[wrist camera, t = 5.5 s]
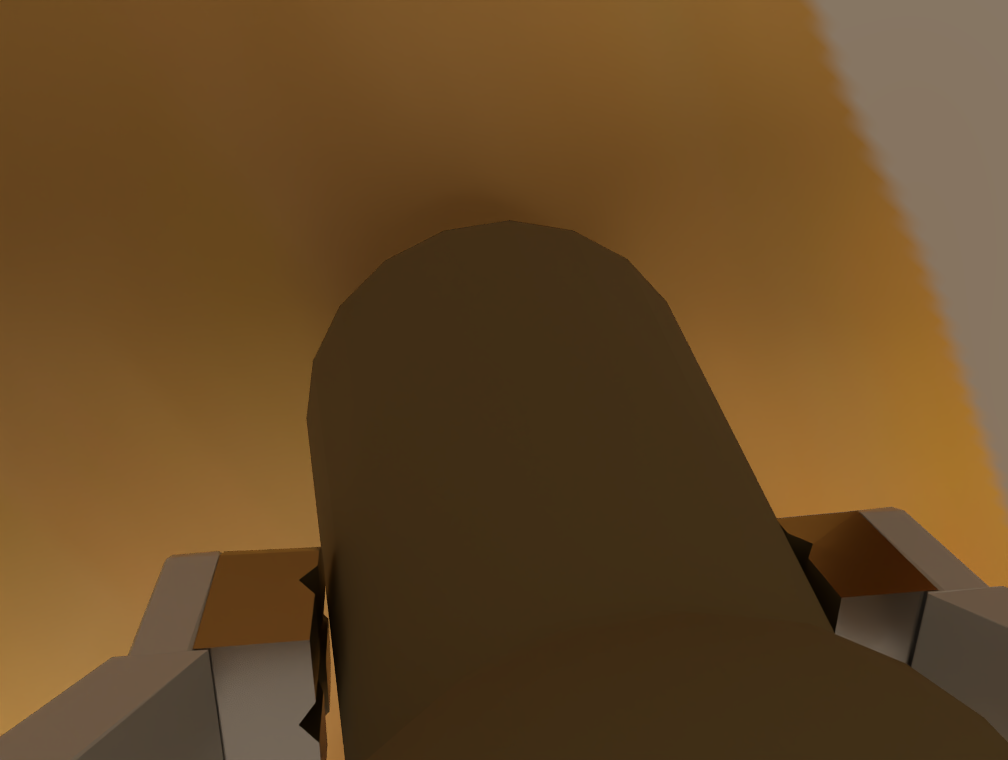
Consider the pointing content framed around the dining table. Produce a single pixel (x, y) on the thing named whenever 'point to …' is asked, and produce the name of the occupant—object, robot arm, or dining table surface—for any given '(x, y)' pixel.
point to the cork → (569, 533)
